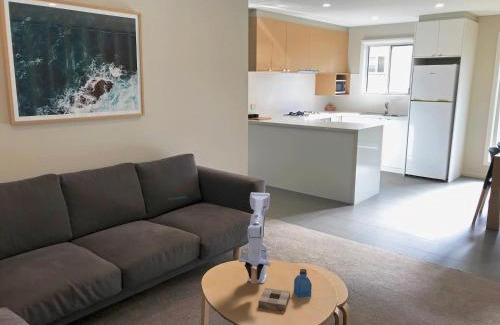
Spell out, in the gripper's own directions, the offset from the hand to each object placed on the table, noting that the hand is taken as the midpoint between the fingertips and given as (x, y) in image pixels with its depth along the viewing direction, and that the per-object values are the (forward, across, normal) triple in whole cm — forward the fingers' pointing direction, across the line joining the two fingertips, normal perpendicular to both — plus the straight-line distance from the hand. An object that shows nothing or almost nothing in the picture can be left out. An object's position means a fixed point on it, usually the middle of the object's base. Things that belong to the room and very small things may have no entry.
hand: (254, 278), depth 184 cm
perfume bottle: (+9, +21, +9) cm, 25 cm away
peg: (+2, 0, 0) cm, 2 cm away
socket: (+9, +10, -2) cm, 14 cm away
